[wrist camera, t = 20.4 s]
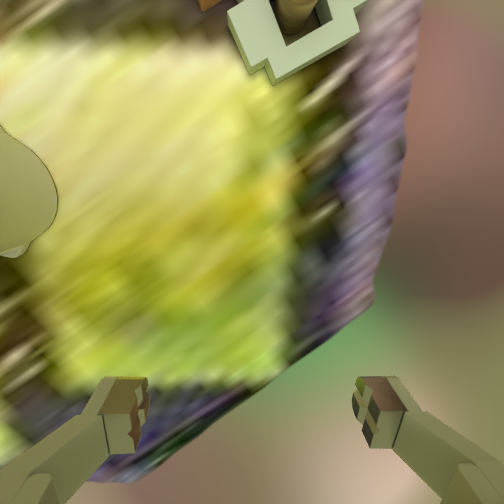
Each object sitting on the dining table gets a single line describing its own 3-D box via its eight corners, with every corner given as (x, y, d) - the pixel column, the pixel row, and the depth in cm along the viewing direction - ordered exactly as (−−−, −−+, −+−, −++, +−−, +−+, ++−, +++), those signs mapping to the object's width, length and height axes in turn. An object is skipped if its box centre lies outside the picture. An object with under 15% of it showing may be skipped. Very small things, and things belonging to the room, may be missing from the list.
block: (363, 34, 33) (377, 21, 30) (258, 93, 34) (260, 87, 31) (333, -68, 30) (345, -95, 26) (218, 3, 31) (216, -14, 28)
